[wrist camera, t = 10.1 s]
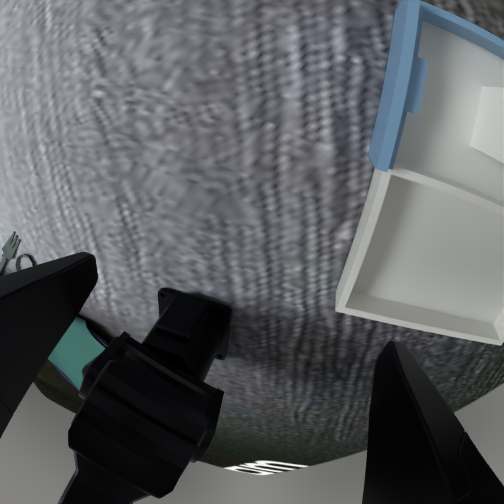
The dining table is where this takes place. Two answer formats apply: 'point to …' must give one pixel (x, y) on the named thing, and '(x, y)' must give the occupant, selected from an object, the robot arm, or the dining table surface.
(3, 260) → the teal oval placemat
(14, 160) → the dining table surface
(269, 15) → the dining table surface
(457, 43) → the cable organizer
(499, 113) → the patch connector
